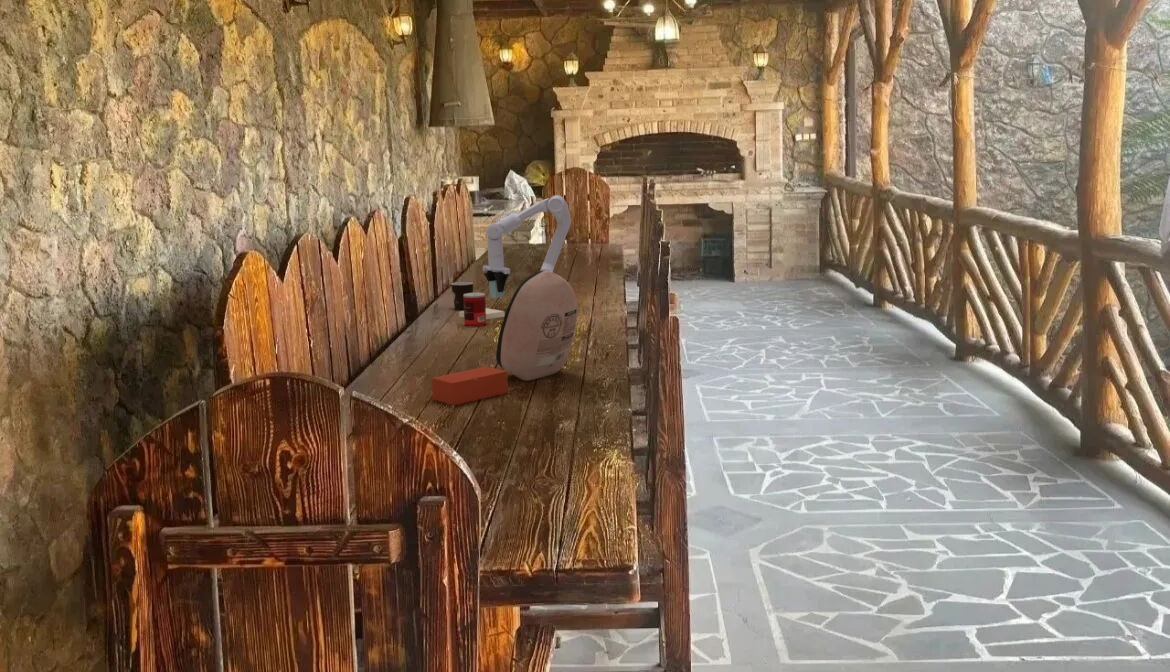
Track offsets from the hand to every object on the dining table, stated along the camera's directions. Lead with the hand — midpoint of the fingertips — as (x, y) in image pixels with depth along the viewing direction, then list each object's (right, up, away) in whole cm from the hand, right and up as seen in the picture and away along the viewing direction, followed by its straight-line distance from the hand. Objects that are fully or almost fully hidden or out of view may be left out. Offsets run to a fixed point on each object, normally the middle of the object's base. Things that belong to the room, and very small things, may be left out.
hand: (497, 291), depth 400 cm
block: (0, -2, 0) cm, 2 cm away
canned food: (-6, -13, -23) cm, 27 cm away
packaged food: (+21, -28, -106) cm, 112 cm away
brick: (+4, -33, -126) cm, 130 cm away
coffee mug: (-14, -6, +13) cm, 20 cm away
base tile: (-5, -10, -7) cm, 13 cm away
